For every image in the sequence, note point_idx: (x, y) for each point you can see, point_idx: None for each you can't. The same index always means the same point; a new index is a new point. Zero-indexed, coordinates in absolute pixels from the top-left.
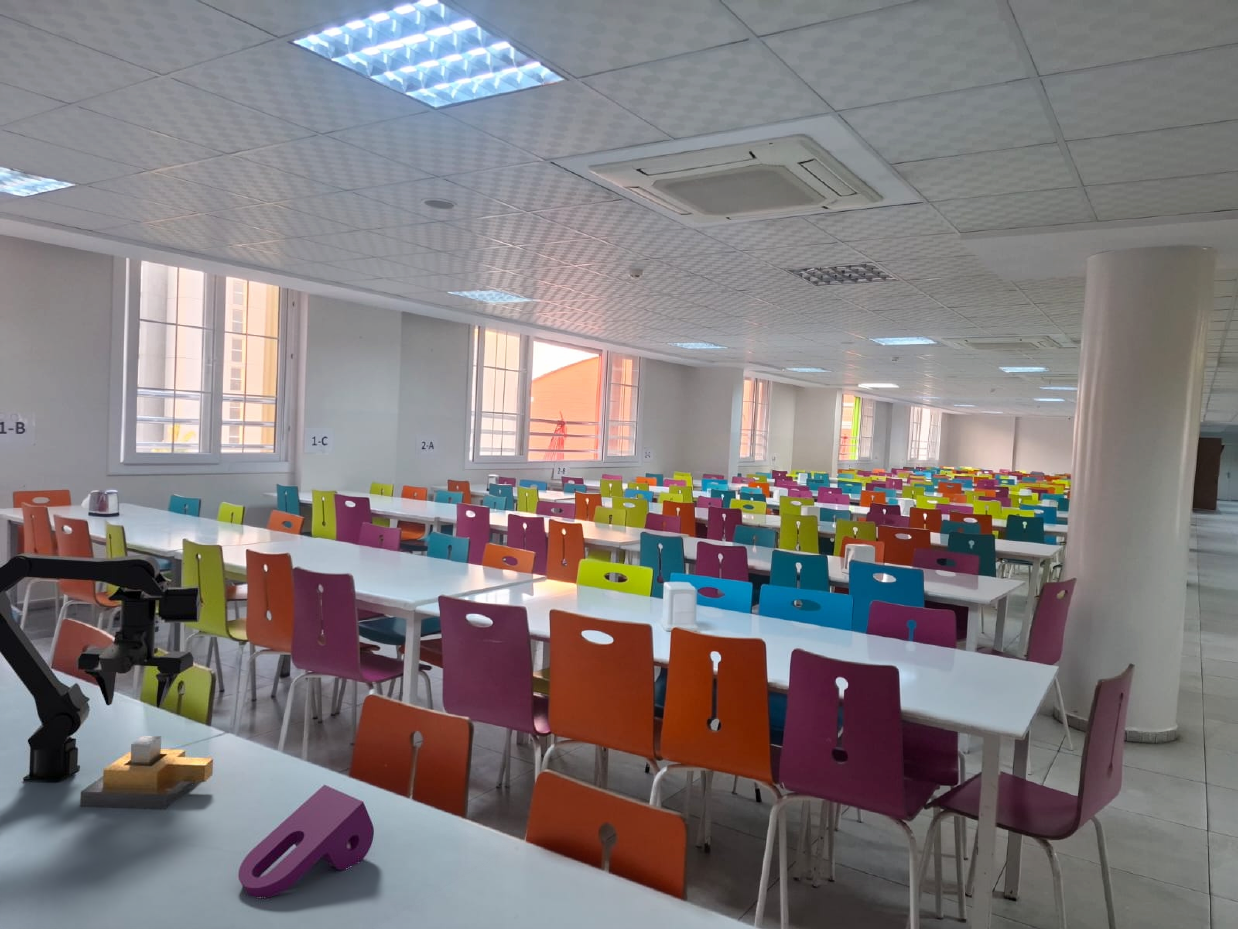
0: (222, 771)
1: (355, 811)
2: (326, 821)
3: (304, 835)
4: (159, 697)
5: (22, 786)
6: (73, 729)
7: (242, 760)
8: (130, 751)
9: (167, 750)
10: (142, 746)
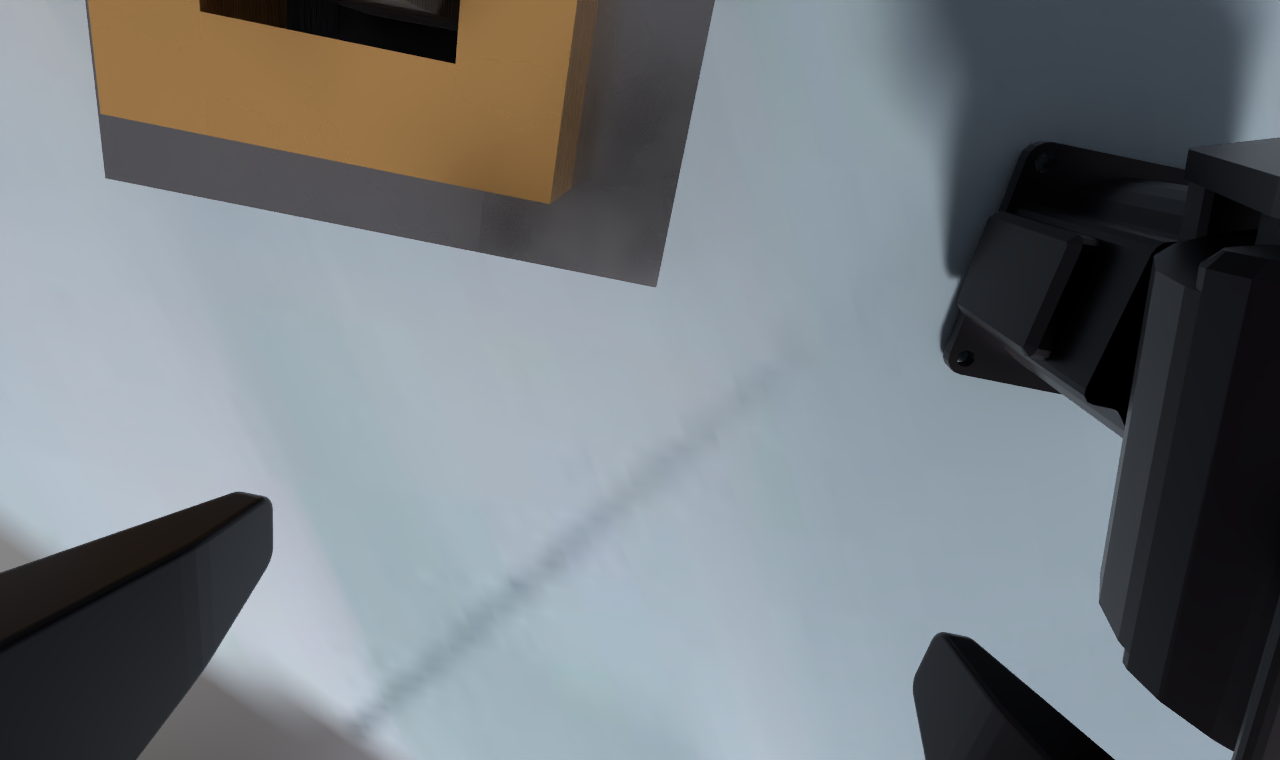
0: (95, 234)
1: None
2: None
3: None
4: (79, 559)
5: (1246, 106)
6: (1209, 256)
7: (69, 392)
8: (558, 119)
9: (247, 116)
10: None
